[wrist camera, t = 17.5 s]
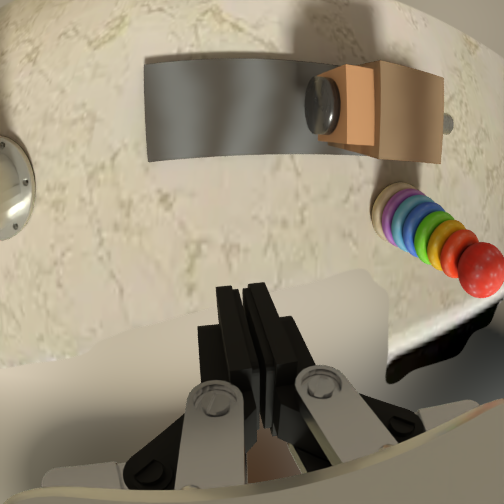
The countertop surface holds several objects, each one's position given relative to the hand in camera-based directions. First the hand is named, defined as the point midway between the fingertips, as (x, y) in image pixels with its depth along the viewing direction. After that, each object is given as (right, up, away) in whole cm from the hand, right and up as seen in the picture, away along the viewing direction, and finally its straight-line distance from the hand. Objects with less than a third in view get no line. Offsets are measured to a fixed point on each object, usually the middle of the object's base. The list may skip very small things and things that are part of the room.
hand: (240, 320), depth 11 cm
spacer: (+8, +16, +15) cm, 23 cm away
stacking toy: (+19, +8, +26) cm, 33 cm away
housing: (+3, +17, +19) cm, 25 cm away
